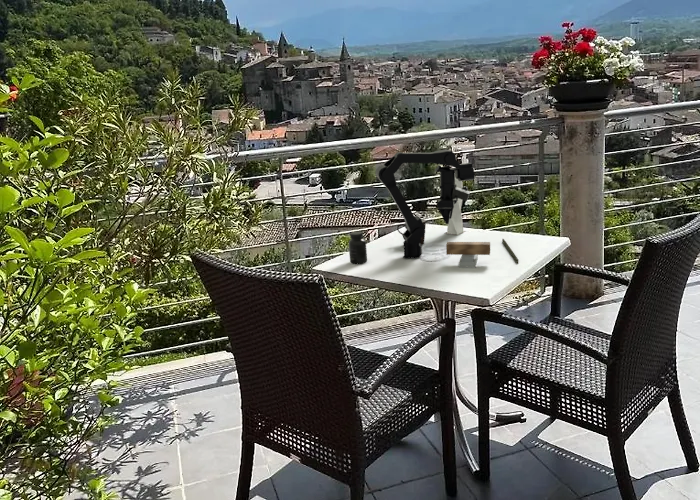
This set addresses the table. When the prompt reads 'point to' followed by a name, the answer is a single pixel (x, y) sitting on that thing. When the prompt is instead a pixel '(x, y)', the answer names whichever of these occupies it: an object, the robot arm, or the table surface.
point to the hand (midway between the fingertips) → (448, 221)
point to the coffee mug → (424, 227)
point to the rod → (510, 250)
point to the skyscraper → (456, 215)
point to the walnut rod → (468, 248)
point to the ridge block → (468, 261)
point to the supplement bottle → (357, 248)
